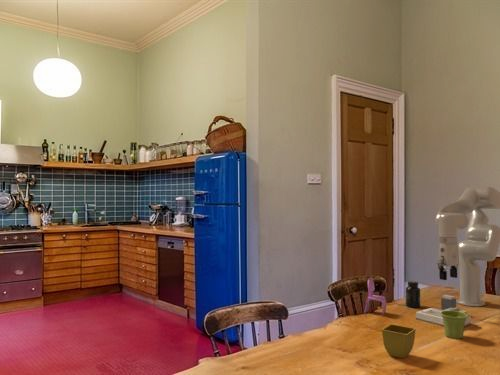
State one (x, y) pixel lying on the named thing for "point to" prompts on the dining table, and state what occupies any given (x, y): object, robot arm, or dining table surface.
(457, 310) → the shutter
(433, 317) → the socket plate
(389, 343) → the flower pot
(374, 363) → the dining table surface
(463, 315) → the plant pot
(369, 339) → the dining table surface
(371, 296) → the toy chair
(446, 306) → the plug
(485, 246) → the robot arm
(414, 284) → the supplement bottle
